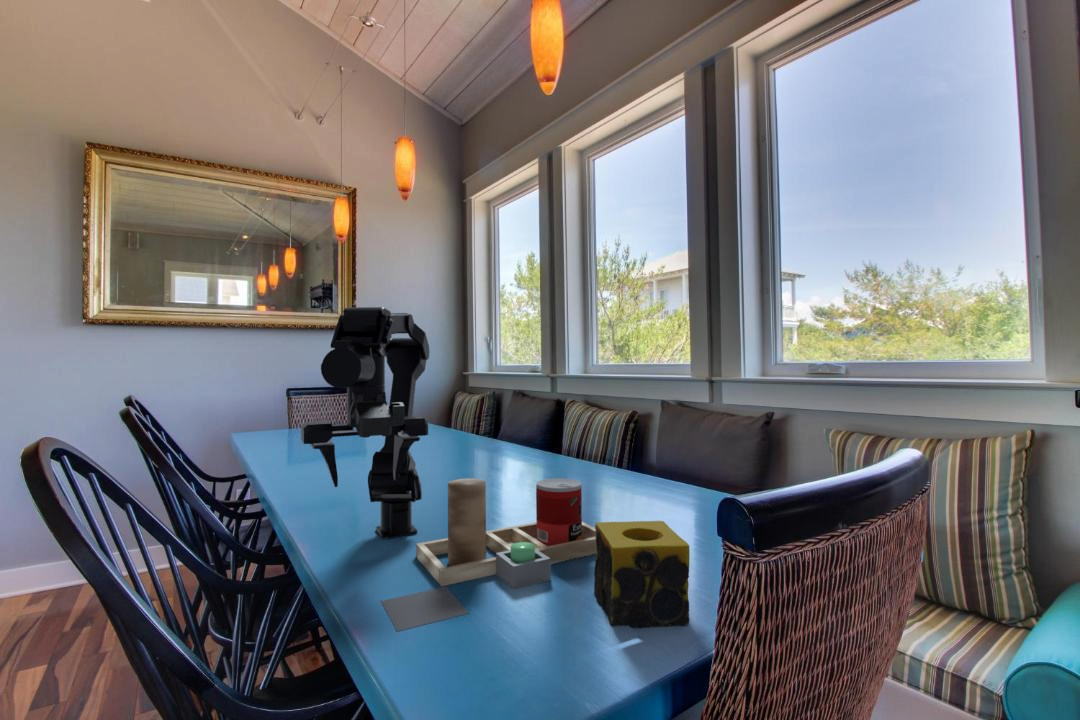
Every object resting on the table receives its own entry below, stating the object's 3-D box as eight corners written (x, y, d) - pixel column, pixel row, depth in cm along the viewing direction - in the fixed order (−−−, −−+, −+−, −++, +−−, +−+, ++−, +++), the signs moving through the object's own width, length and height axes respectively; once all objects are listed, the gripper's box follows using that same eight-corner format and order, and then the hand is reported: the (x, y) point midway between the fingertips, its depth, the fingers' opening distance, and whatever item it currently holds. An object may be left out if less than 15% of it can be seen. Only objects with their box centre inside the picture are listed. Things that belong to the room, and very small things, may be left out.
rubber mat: (380, 604, 69) (380, 601, 69) (445, 589, 73) (445, 586, 73) (397, 634, 61) (397, 631, 61) (468, 616, 65) (468, 613, 65)
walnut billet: (440, 565, 82) (439, 483, 82) (467, 554, 86) (467, 476, 87) (466, 575, 78) (466, 489, 78) (494, 563, 83) (493, 481, 83)
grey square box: (496, 576, 77) (495, 553, 77) (531, 568, 80) (531, 545, 80) (513, 591, 72) (513, 566, 72) (550, 582, 75) (550, 558, 75)
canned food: (579, 555, 86) (578, 489, 86) (532, 552, 87) (531, 487, 88) (584, 539, 93) (583, 478, 93) (541, 537, 95) (540, 477, 95)
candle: (593, 593, 72) (592, 521, 72) (663, 590, 73) (663, 519, 73) (609, 631, 62) (608, 547, 62) (691, 626, 62) (690, 544, 63)
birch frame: (416, 558, 85) (416, 543, 85) (570, 529, 99) (570, 516, 99) (441, 588, 73) (441, 571, 73) (611, 550, 88) (611, 535, 88)
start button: (506, 564, 77) (506, 544, 77) (527, 560, 79) (527, 540, 79) (517, 573, 74) (517, 552, 74) (539, 568, 76) (539, 547, 76)
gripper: (306, 389, 71) (307, 502, 71) (438, 385, 80) (438, 486, 80) (300, 386, 81) (300, 486, 81) (418, 383, 90) (418, 473, 90)
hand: (366, 483), depth 82 cm, fingers open, 9 cm apart
